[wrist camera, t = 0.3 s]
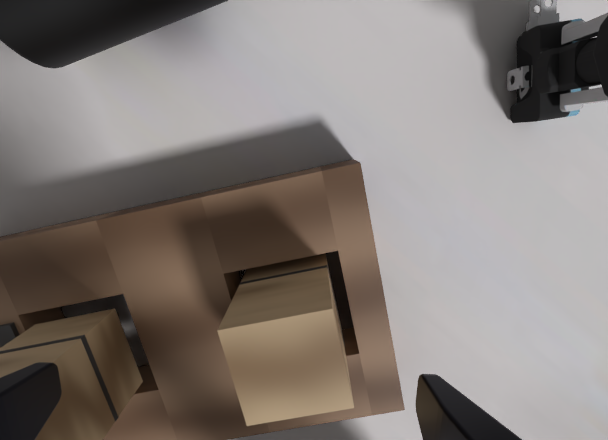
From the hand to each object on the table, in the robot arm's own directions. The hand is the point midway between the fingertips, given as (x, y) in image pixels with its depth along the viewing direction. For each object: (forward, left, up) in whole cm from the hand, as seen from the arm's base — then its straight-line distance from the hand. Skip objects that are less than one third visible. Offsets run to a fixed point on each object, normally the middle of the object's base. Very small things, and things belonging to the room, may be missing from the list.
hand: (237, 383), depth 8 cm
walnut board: (-4, +7, -14) cm, 16 cm away
